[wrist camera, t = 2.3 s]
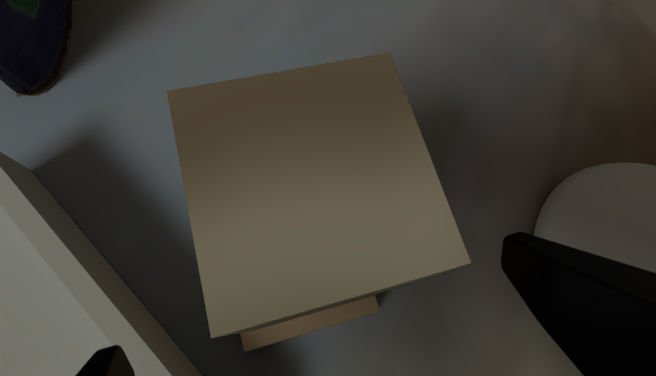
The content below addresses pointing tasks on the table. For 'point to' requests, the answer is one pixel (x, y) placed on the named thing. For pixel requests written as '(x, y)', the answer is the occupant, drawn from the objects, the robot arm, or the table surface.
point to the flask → (33, 43)
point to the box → (66, 293)
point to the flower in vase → (605, 213)
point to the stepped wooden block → (308, 197)
